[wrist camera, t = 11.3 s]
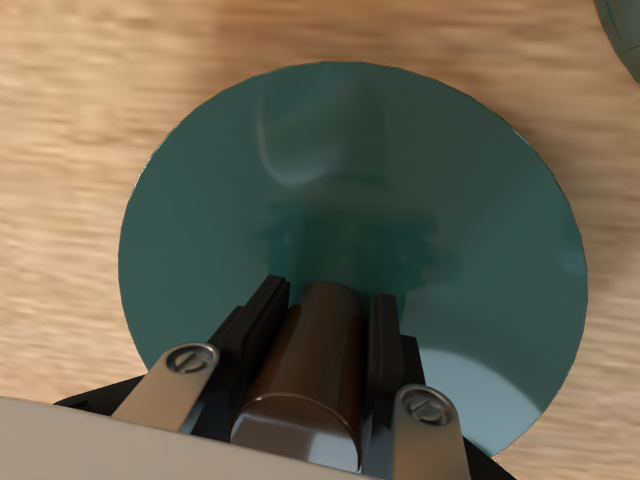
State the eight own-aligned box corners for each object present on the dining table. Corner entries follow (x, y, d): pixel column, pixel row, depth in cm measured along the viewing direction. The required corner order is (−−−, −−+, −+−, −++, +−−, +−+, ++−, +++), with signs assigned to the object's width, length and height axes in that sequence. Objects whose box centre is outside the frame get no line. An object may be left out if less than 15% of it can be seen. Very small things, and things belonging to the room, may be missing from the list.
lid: (147, 423, 17) (7, 598, 10) (124, 48, 12) (-177, -63, 5) (496, 503, 15) (589, 779, 8) (648, 94, 10) (1167, 7, 3)
